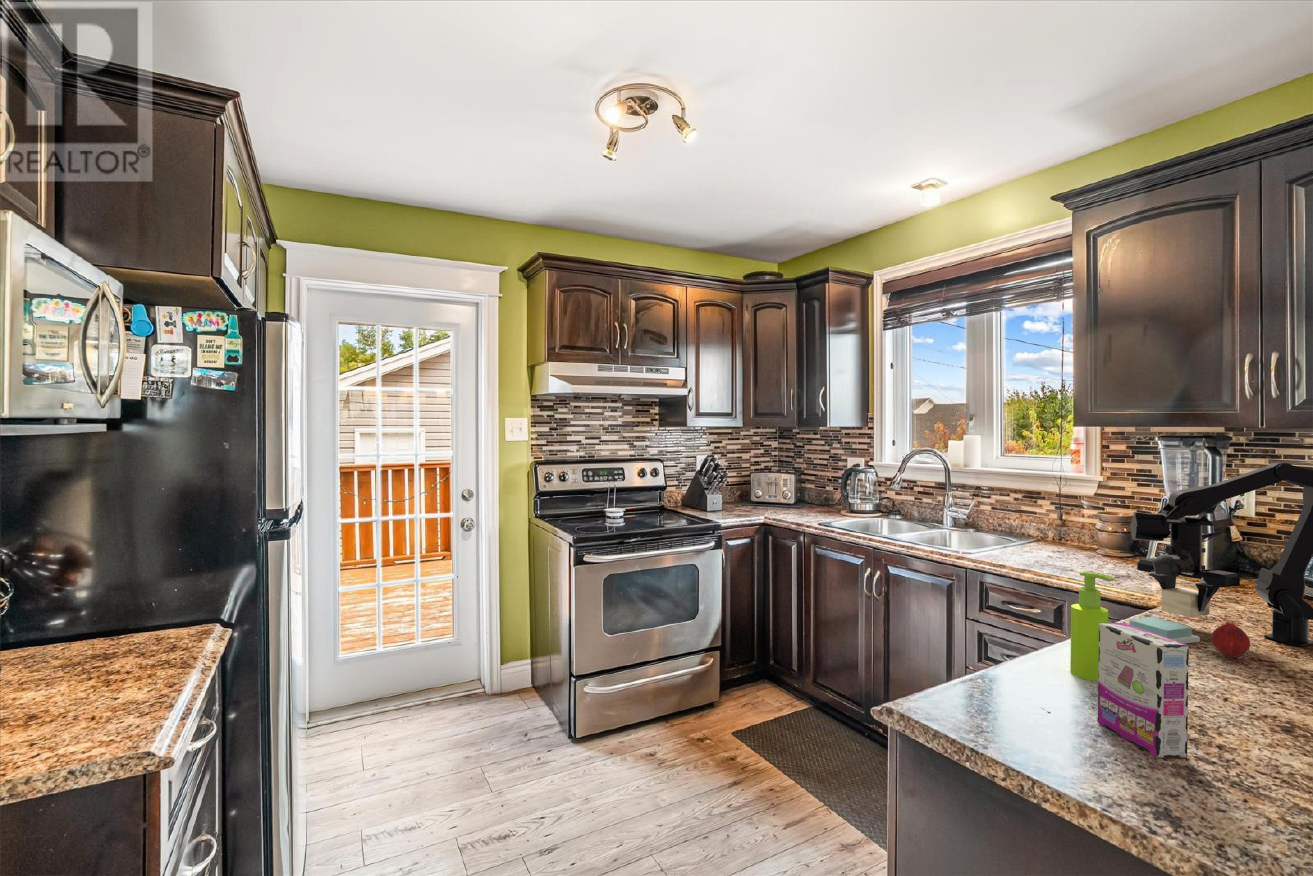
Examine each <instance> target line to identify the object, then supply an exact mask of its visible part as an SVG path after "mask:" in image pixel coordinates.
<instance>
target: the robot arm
mask: <svg viewBox="0 0 1313 876" xmlns="http://www.w3.org/2000/svg"><path fill="white" fill-rule="evenodd" d="M1280 482H1285V483H1288V484H1292V485H1295V486H1298V487H1302V488H1303V491H1302V503H1303V505H1302V510H1301V512H1300V514H1299V516H1298V518H1297V521H1296V523H1295V525H1294V527H1293V529H1292V531H1291V533H1290V535H1289V538H1288V540H1287V542H1286V543H1285V546H1284V548H1283V551H1282V552H1281V554H1280V557H1279V559H1278V561H1277V563H1276V564H1275V565H1273V567H1271V568H1270V569H1266V568H1264V567H1261V568H1260V570H1259V575H1258V577H1257V578H1256V580H1254V581H1253V584H1255V585H1256V587H1255V592H1256V594H1257V596H1258V597H1259V598H1260V599H1261V600H1263V601H1264V602H1266V605H1267V607H1268V608H1269V609H1271V610H1272V615H1271V616H1272V619H1271V621H1272V622H1271V625H1272V626H1271V633H1270V634H1264V635H1263V637H1264V638H1266V639H1270V640H1273V641H1277V642H1281V643H1285V644H1290V645H1293V646H1296V647H1306V646H1310V645H1313V640H1312V639H1309V621H1313V606H1311V605H1310V604H1309V603H1308V602H1307V601H1305V600H1304V595H1305V591H1306V582H1305V580H1306V579H1305V574H1306V570H1307V569H1308V566H1309V564H1310V563H1311V560H1312V559H1313V470H1312V469H1308V468H1304V467H1299V466H1295V465H1293V464H1291V463H1288V462H1272V463H1271V462H1270V463H1269V464H1268V465H1266V466H1263V467H1261V468H1257V469H1254V470H1251V471H1248V472H1244V473H1243V474H1240V475H1237V476H1234V477H1230V478H1228V479H1225V480H1222V481H1219V482H1218V481H1217V482H1216V483H1213V484H1209V485H1208V484H1207V485H1203V486H1195V487H1194V486H1193V487H1189V488H1184V489H1183V488H1182V489H1178V490H1175V491H1174V492H1172V493H1170V495H1169V497H1168V499H1167V501H1168V502H1167V503H1166V504H1165V505H1164V506H1163V507H1162V508H1161V509H1160V510H1159V511H1158V512H1157V513H1150V512H1141V511H1134V512H1133V517H1132V519H1131V523H1130V535H1131V538H1132V539H1133V540H1135V541H1136V540H1138V541H1150V542H1151V541H1153V542H1154V541H1155V542H1164V540H1165V539H1168V538H1169V537H1170V539H1169V540H1170V544H1169V545H1166V548H1165V553H1164V554H1161V555H1159V556H1157V557H1156V558H1154V557H1152V558H1140V559H1139V560H1138V561H1137V562H1136V571H1140V572H1145V573H1148V576H1150V577H1152V578H1154V580H1156V581H1157V583H1158V584H1159V587H1160V588H1161V591H1162V590H1163V589H1171V588H1176V585H1177V584H1176V583H1177V577H1179V576H1185V577H1189V578H1196V579H1201V582H1198V583H1195V584H1194V585H1195V587H1196V588H1197V591H1198V611H1199V612H1203V611H1204V609H1205V607H1206V606H1207V604H1208V603H1209V601H1211V600H1212V598H1213V596H1214V595H1215V594H1216V593H1217V592H1218V590H1220V589H1221V588H1232V587H1233V588H1234V587H1240V586H1241V579H1240V576H1239V575H1238V574H1237V573H1236V572H1232V571H1231V572H1230V571H1225V570H1220V569H1219V570H1216V569H1215V570H1210V571H1207V570H1206V565H1205V564H1203V553H1204V554H1205V553H1206V551H1207V550H1206V549H1207V548H1205V547H1203V545H1202V544H1203V526H1205V527H1208V526H1209V527H1210V526H1211V527H1214V526H1215V522H1212V521H1211V520H1209V519H1208V518H1207V516H1206V515H1204V514H1203V513H1206V511H1209V510H1211V509H1213V508H1214V507H1215V506H1217V505H1219V504H1220V503H1222V502H1224V501H1226V500H1229V499H1232V498H1235V497H1238V496H1241V495H1244V494H1247V493H1250V492H1253V491H1256V490H1259V489H1262V488H1266V487H1269V486H1272V485H1274V484H1278V483H1280ZM1194 516H1197V517H1194ZM1204 570H1206V571H1204Z"/></svg>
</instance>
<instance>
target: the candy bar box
mask: <svg viewBox="0 0 1313 876" xmlns="http://www.w3.org/2000/svg"><path fill="white" fill-rule="evenodd" d="M1189 651H1190V646H1189V645H1188V644H1182V643H1180V642H1177V641H1174V640H1171V639H1169V638H1166V637H1163V636H1160V635H1157V634H1154V633H1152V632H1149V631H1146V630H1143V629H1140V628H1137V627H1134V626H1132V625H1130V623H1129V624H1128V623H1125V622H1111V623H1110V622H1108V623H1101V624H1099V663H1098V681H1097V683H1098V686H1097V687H1098V689H1097V690H1098V691H1097V724H1098V725H1100V726H1101V727H1103V728H1105V729H1106V730H1108V731H1111V732H1112V733H1113V734H1115V735H1116V736H1119V737H1121V738H1122V739H1124V740H1126V741H1127V742H1129V743H1131V744H1132V745H1134V746H1136V747H1138V748H1139V749H1141V750H1143V751H1144V752H1146V753H1148V754H1150V755H1151V756H1153V757H1155V758H1157V759H1184V758H1188V739H1189V738H1188V731H1189V730H1188V727H1189V725H1188V722H1189V721H1188V720H1189V719H1188V716H1189V707H1188V706H1189V667H1190V666H1189V662H1190V661H1189V660H1190V659H1189V656H1190V655H1189V653H1190V652H1189Z"/></svg>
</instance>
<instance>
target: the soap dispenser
mask: <svg viewBox="0 0 1313 876" xmlns="http://www.w3.org/2000/svg"><path fill="white" fill-rule="evenodd" d="M1079 576H1082V577H1084V581H1083V582H1084V584H1083V585H1084V586H1082V587H1080V588H1079V589H1078V603H1074V604H1071V606H1070V607H1071V608H1070V674H1071V673H1072V674H1071V675H1073V676H1074V677H1076V678H1078V679H1082V678H1083V679H1082V680H1085V681H1092V682H1098V663H1099V624H1101V623H1109V610H1108V609H1107V608H1104V606H1103V607H1102V606H1101V590H1099V589H1098V588H1096V579H1099V580H1100V579H1101V580H1104V581H1106V582H1111V581H1115V580H1116V578H1115V577H1112V576H1110V575H1108V574H1104V573H1102V572H1094V571H1085V570H1084V571H1080V572H1079Z"/></svg>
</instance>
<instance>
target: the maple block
mask: <svg viewBox="0 0 1313 876" xmlns="http://www.w3.org/2000/svg"><path fill="white" fill-rule="evenodd" d="M1210 601H1211V600H1210ZM1210 601H1209V603H1208V604H1207V606H1206V607H1205V609H1204V611H1203V612H1199V611H1198V590H1195V589H1192V588H1190V589H1189V588H1185V587H1175V588H1171V589H1163V590H1162V589H1161V611H1163V612H1168V613H1170V614H1171V613H1172V614H1176V615H1180V616H1183V617H1184V616H1185V617H1188V618H1194V617H1201V616H1207V615H1210Z"/></svg>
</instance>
